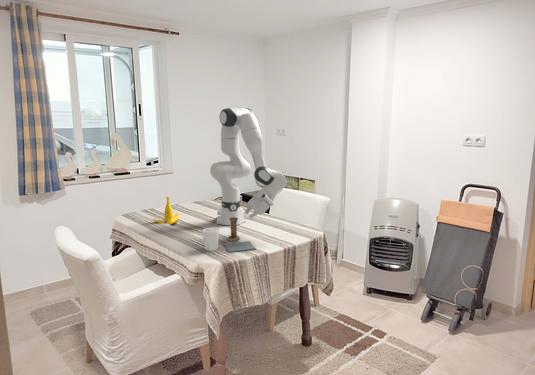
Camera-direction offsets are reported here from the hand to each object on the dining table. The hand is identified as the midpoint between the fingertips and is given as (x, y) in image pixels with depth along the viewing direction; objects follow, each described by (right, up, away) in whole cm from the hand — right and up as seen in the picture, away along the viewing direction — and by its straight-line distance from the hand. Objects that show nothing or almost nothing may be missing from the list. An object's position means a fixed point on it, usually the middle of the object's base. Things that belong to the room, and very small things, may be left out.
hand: (247, 215), depth 214 cm
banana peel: (-51, -6, +36) cm, 63 cm away
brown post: (-8, -13, 0) cm, 15 cm away
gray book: (-4, -16, -12) cm, 20 cm away
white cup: (-18, -16, -14) cm, 28 cm away
